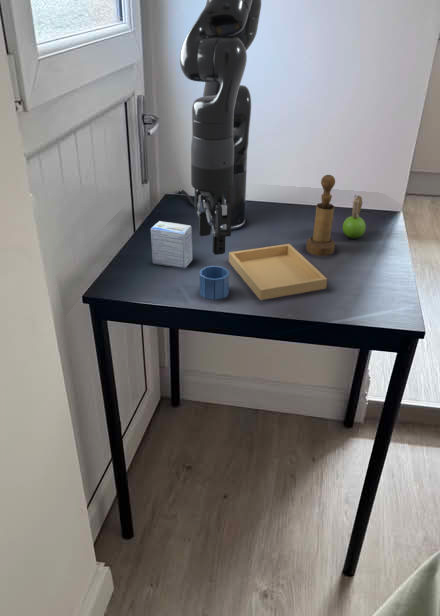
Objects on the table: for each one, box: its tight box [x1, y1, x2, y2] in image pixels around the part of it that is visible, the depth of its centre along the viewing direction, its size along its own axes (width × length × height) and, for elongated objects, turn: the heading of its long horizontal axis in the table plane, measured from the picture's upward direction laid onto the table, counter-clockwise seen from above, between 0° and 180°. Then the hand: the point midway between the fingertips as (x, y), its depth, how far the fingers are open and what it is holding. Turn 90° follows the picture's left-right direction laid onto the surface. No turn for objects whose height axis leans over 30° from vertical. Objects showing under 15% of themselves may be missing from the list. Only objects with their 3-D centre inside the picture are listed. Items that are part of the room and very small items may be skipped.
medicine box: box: [150, 220, 193, 269], centre depth 122 cm, size 8×4×9 cm, turn 71°
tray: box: [228, 243, 328, 301], centre depth 119 cm, size 18×15×3 cm
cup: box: [199, 265, 230, 301], centre depth 112 cm, size 6×6×5 cm
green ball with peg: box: [342, 194, 367, 239], centre depth 134 cm, size 5×6×12 cm
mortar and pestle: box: [305, 174, 336, 257], centre depth 126 cm, size 7×6×18 cm
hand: (211, 243), depth 107 cm, fingers open, 8 cm apart
